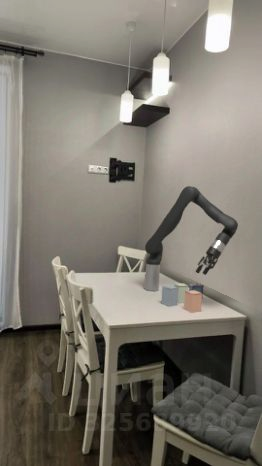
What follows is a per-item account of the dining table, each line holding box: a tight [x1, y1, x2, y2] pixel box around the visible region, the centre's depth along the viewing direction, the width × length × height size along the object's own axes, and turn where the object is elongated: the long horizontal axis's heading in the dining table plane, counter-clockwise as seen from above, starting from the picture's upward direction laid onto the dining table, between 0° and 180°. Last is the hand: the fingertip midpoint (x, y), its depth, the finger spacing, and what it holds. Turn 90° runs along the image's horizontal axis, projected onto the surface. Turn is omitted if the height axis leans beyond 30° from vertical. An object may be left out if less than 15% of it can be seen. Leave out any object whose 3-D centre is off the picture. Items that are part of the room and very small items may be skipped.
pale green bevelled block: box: [173, 282, 190, 304], centre depth 188 cm, size 6×6×10 cm
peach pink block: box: [183, 290, 203, 313], centre depth 172 cm, size 6×6×10 cm
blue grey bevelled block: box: [160, 284, 179, 307], centre depth 181 cm, size 6×6×10 cm
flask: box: [188, 281, 204, 298], centre depth 196 cm, size 9×3×11 cm, turn 104°
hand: (200, 273), depth 178 cm, fingers open, 8 cm apart
